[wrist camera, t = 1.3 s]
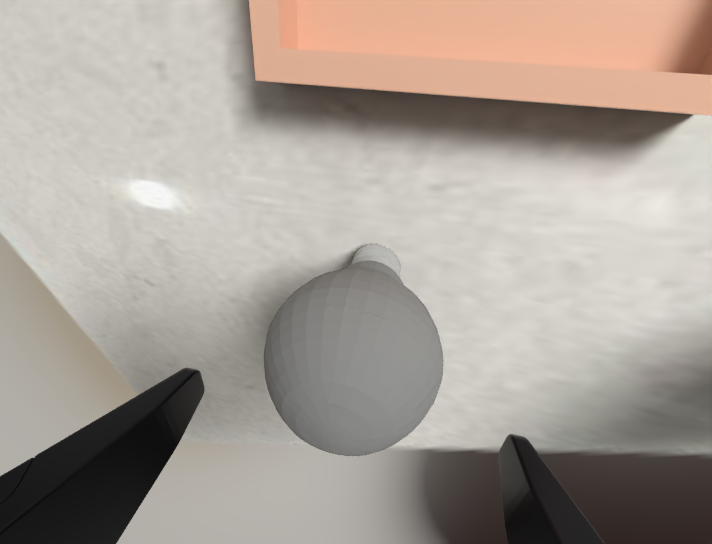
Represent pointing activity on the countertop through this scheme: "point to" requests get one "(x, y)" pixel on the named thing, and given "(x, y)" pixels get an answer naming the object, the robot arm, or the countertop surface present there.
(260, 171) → the countertop surface
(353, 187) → the countertop surface
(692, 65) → the dish
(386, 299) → the light bulb
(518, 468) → the robot arm
